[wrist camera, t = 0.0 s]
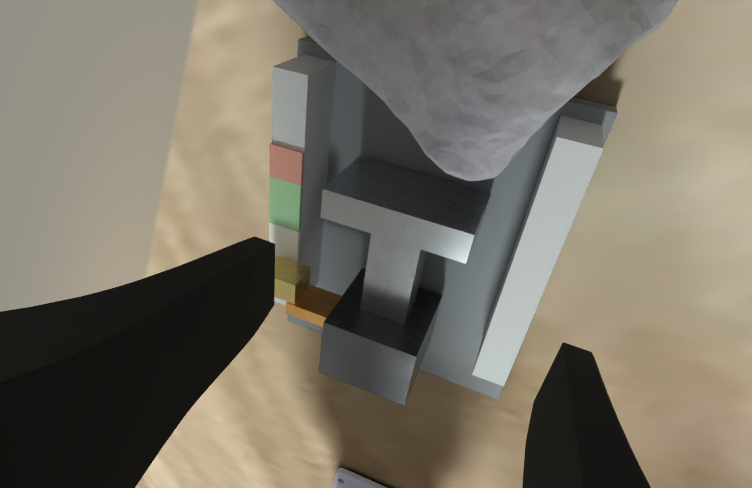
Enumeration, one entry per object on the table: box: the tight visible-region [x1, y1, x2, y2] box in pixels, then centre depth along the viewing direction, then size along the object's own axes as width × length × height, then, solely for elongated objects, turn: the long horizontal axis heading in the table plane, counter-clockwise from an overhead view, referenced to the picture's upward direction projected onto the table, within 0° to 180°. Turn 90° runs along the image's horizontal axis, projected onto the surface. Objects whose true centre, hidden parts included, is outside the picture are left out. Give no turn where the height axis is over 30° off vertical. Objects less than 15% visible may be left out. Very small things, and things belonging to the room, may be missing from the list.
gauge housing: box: [269, 37, 617, 399], centre depth 21 cm, size 15×12×3 cm
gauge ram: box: [286, 156, 491, 406], centre depth 21 cm, size 9×7×4 cm
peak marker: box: [274, 255, 311, 304], centre depth 21 cm, size 1×2×1 cm, turn 82°
